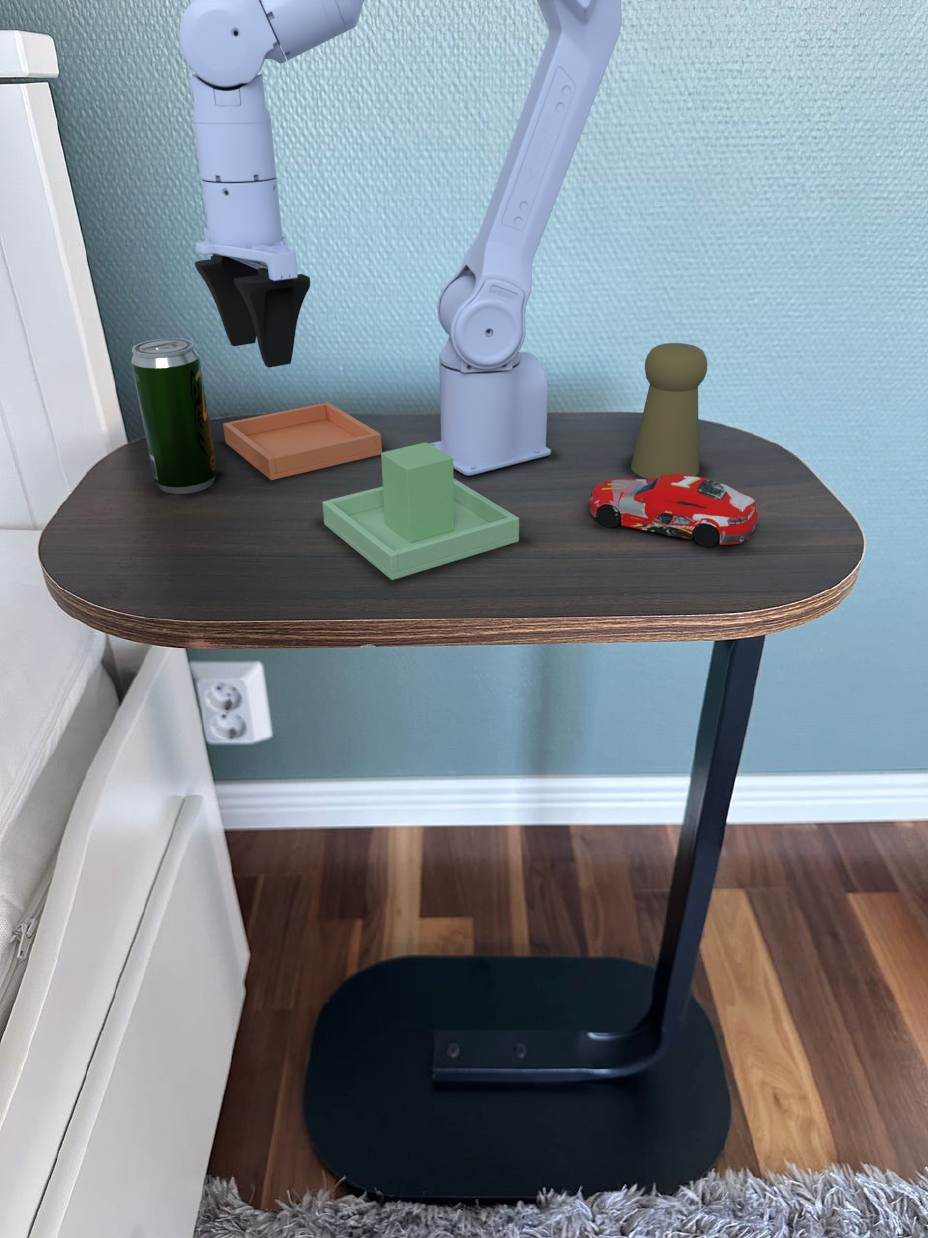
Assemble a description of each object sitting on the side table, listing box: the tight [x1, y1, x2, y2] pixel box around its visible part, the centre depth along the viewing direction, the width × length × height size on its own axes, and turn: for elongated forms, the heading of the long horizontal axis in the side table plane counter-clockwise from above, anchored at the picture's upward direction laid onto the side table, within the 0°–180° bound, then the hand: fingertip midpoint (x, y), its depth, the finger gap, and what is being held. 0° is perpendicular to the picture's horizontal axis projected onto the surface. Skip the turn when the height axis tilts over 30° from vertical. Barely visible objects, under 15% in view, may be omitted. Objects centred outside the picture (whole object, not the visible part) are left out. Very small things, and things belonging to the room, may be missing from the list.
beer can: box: [130, 337, 218, 495], centre depth 80 cm, size 5×5×12 cm
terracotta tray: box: [222, 401, 383, 481], centre depth 90 cm, size 11×11×2 cm
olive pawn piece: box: [630, 342, 708, 479], centre depth 82 cm, size 6×6×11 cm
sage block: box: [380, 441, 455, 543], centre depth 72 cm, size 4×4×6 cm
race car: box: [588, 473, 759, 548], centre depth 74 cm, size 13×5×4 cm, turn 61°
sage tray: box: [321, 477, 520, 581], centre depth 74 cm, size 11×11×2 cm
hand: (260, 354), depth 80 cm, fingers open, 7 cm apart
